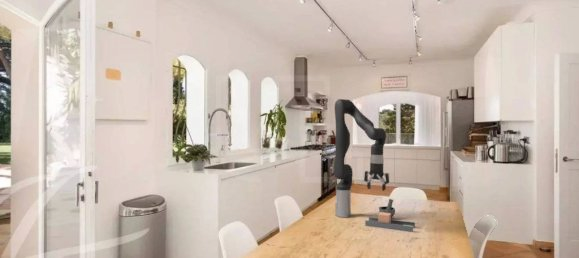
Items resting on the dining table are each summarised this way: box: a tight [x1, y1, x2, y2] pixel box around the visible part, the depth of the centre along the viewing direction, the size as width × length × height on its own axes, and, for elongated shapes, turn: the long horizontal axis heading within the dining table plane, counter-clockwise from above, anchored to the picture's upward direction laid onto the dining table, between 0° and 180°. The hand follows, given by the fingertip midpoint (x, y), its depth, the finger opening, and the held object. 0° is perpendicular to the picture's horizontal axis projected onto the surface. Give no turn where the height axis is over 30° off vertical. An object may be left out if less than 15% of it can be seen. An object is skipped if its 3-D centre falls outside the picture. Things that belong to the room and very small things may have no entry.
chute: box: [364, 216, 416, 233], centre depth 196 cm, size 26×9×4 cm, turn 63°
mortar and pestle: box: [378, 198, 396, 220], centre depth 215 cm, size 11×9×12 cm
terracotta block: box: [377, 212, 392, 223], centre depth 197 cm, size 6×6×7 cm
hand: (376, 189), depth 202 cm, fingers open, 8 cm apart
